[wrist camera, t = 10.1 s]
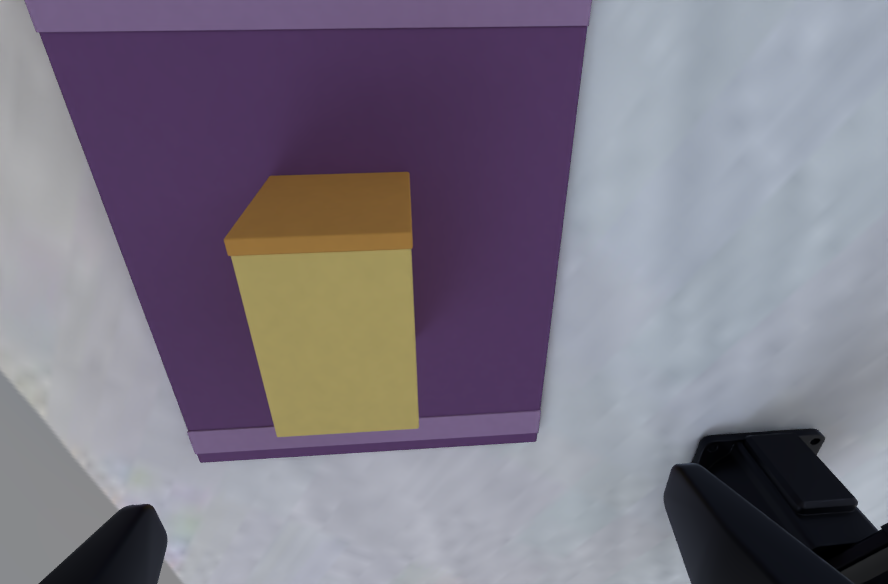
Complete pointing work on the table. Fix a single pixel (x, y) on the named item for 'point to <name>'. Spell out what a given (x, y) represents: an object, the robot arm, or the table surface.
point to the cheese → (331, 300)
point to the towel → (334, 152)
